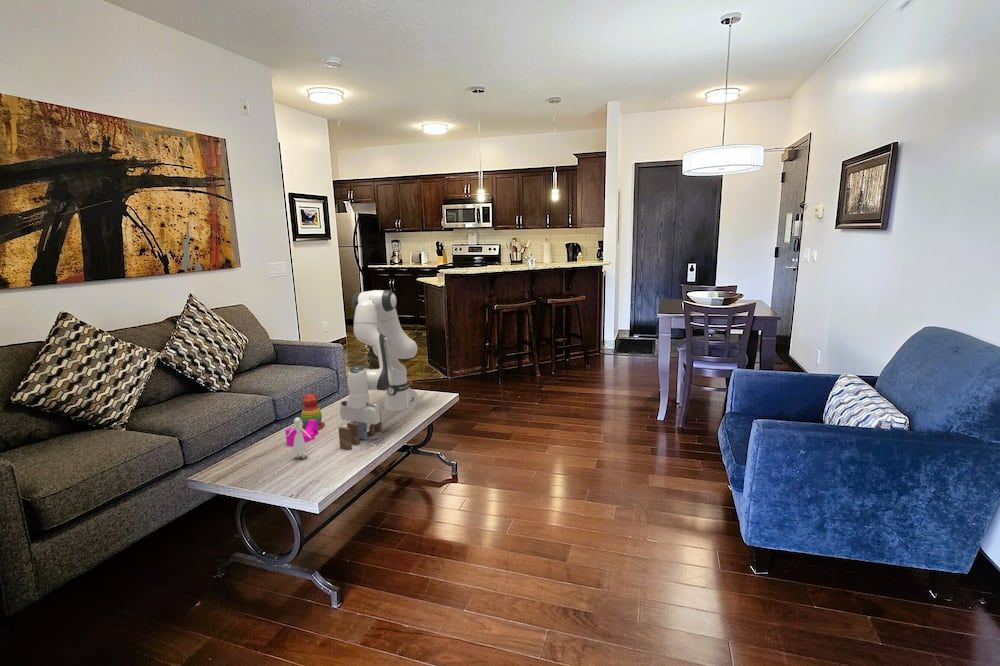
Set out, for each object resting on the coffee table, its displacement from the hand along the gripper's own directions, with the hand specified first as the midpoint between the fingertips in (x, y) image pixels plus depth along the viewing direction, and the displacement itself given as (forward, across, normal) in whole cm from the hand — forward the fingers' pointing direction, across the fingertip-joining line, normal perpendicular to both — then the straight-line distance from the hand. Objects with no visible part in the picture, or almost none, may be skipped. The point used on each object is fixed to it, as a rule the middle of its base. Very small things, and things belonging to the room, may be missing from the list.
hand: (361, 430), depth 218 cm
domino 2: (+5, 0, +6) cm, 7 cm away
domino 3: (+4, 0, 0) cm, 4 cm away
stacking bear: (+5, +32, -3) cm, 33 cm away
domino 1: (+5, 0, +11) cm, 12 cm away
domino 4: (+5, 0, -6) cm, 7 cm away
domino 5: (+5, 0, -11) cm, 12 cm away
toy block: (+5, +25, +9) cm, 27 cm away
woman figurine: (+5, +12, +25) cm, 28 cm away
